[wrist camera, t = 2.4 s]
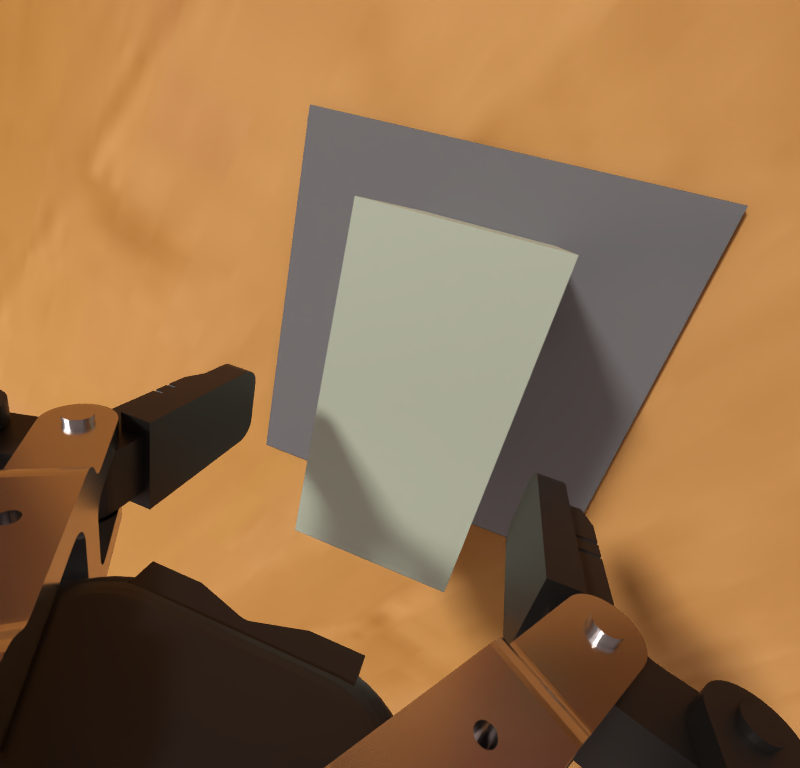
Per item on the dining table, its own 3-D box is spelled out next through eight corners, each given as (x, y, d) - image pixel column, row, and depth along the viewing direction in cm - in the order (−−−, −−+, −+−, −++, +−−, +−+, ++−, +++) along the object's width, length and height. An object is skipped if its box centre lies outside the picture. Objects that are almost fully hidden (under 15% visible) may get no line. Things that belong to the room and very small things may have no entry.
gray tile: (744, 206, 16) (748, 205, 15) (559, 554, 23) (560, 558, 22) (313, 106, 18) (309, 104, 18) (269, 442, 26) (266, 444, 25)
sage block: (555, 245, 17) (578, 255, 10) (469, 474, 22) (443, 592, 15) (420, 210, 18) (354, 195, 11) (366, 436, 23) (295, 530, 16)
